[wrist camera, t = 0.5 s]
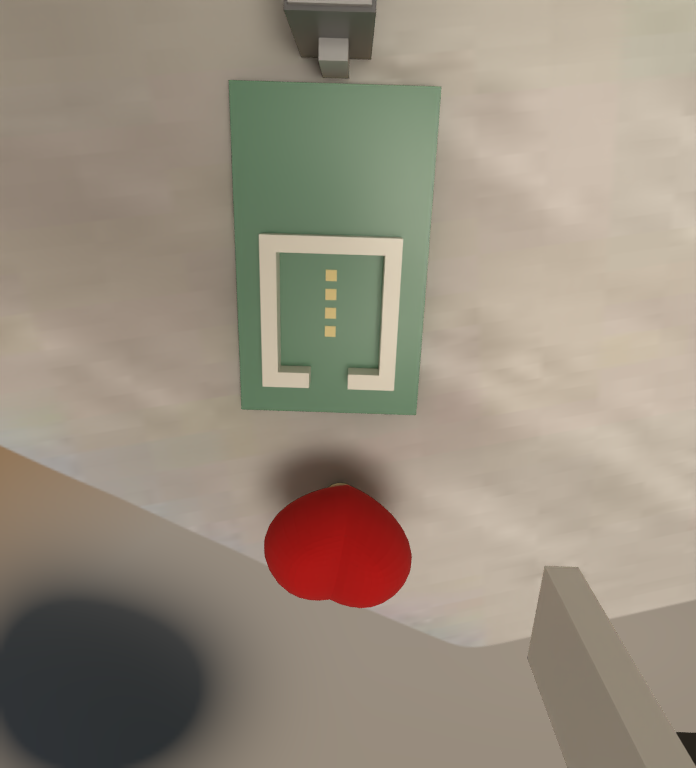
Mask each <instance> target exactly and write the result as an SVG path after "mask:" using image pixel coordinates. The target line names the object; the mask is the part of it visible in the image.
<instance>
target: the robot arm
mask: <svg viewBox="0 0 696 768" xmlns="http://www.w3.org/2000/svg"><path fill="white" fill-rule="evenodd" d="M527 659H528V662H529V664H530V667H531V670H532V673H533V675H534V678H535V681H536V683H537V686H538V689H539V692H540V694H541V697H542V700H543V702H544V705H545V708H546V711H547V713H548V716H549V719H550V722H551V724H552V727H553V730H554V732H555V735H556V738H557V741H558V743H559V746H560V749H561V751H562V754H563V757H564V760H565V763H566V765H567V768H696V733H685V732H675V730H674V729H673V727H672V725H671V724H670V722H669V720H668V719H667V717H666V715H665V713H664V712H663V710H662V708H661V707H660V705H659V703H658V702H657V700H656V698H655V697H654V695H653V693H652V691H651V690H650V688H649V686H648V685H647V683H646V681H645V680H644V678H643V676H642V674H641V673H640V671H639V669H638V668H637V666H636V665H635V663H634V661H633V659H632V658H631V656H630V654H629V653H628V651H627V649H626V647H625V646H624V644H623V642H622V641H621V639H620V637H619V636H618V634H617V632H616V631H615V629H614V627H613V625H612V624H611V622H610V620H609V619H608V617H607V615H606V613H605V612H604V610H603V608H602V607H601V605H600V603H599V602H598V600H597V598H596V597H595V595H594V593H593V591H592V590H591V588H590V586H589V585H588V583H587V581H586V580H585V578H584V576H583V575H582V573H581V571H580V569H579V568H578V567H559V566H545V567H544V572H543V577H542V583H541V588H540V593H539V598H538V604H537V609H536V614H535V619H534V624H533V630H532V635H531V640H530V646H529V651H528V656H527Z"/></svg>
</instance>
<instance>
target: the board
mask: <svg viewBox="0 0 696 768" xmlns="http://www.w3.org/2000/svg"><path fill="white" fill-rule="evenodd" d="M440 99H441V87H440V86H407V85H374V84H341V83H308V82H275V81H242V80H229V101H230V127H231V152H232V178H233V204H234V229H235V255H236V280H237V306H238V332H239V357H240V383H241V409H246V410H276V411H306V412H337V413H367V414H398V415H416V409H417V396H418V383H419V370H420V357H421V344H422V331H423V318H424V306H425V293H426V280H427V267H428V254H429V241H430V228H431V215H432V202H433V189H434V176H435V163H436V150H437V137H438V125H439V112H440Z"/></svg>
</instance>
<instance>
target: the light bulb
mask: <svg viewBox="0 0 696 768" xmlns="http://www.w3.org/2000/svg"><path fill="white" fill-rule="evenodd" d="M264 552H265V558H266V561H267V564H268V567H269V570H270V571H271V573H272V575H273V576H274V578H275V579H276V581H277V582H278V583H279V584H280V585H281V586H282V587H283V588H284V589H286V590H287V591H288V592H289V593H291V594H293V595H295V596H297V597H299V598H303V599H308V600H328V599H330V600H333V601H335V602H337V603H339V604H342V605H346V606H350V607H357V608H367V607H373V606H376V605H379V604H381V603H383V602H385V601H387V600H388V599H390V598H391V597H393V596H394V595H395V594H396V593H397V592H398V591H399V590H400V589H401V587H402V586H403V585H404V583H405V581H406V579H407V577H408V575H409V572H410V568H411V558H412V556H411V550H410V546H409V541H408V539H407V537H406V535H405V533H404V531H403V529H402V527H401V526H400V524H399V523H398V522H397V520H396V519H395V518H394V517H393V515H392V514H391V513H390V512H389V511H388V510H386V509H385V508H384V507H383V506H382V505H381V504H380V503H378V502H377V501H376V500H374V499H373V498H372V497H370V496H369V495H367V494H365V493H364V492H362V491H360V490H358V489H356V488H354V487H352V486H350V485H348V484H345V483H336V484H333V485H331V486H330V487H328V488H324V489H321V490H317V491H314V492H311V493H309V494H307V495H305V496H302V497H300V498H298V499H297V500H295V501H293V502H292V503H290V504H289V505H287V506H286V507H285V508H284V509H283V510H282V511H280V512H279V513H278V514H277V516H276V517H275V518H274V520H273V521H272V522H271V524H270V526H269V528H268V531H267V533H266V536H265V540H264Z"/></svg>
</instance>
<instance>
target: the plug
mask: <svg viewBox="0 0 696 768" xmlns="http://www.w3.org/2000/svg"><path fill="white" fill-rule="evenodd" d="M284 12H285V14H286V17H287V20H288V22H289V25H290V28H291V30H292V33H293V36H294V38H295V41H296V44H297V46H298V49H299V52H300V54H301V57H311V58H318V60H319V64H320V68H321V72H322V75H323V78H349V59H371V55H372V45H373V36H374V27H375V17H376V0H284Z"/></svg>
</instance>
